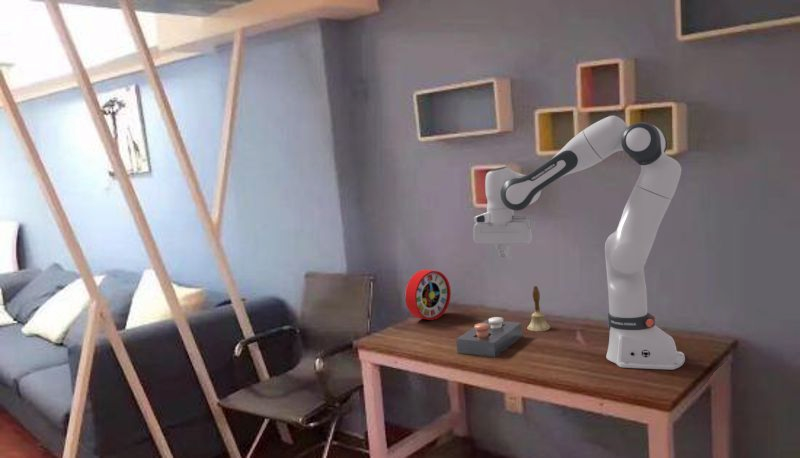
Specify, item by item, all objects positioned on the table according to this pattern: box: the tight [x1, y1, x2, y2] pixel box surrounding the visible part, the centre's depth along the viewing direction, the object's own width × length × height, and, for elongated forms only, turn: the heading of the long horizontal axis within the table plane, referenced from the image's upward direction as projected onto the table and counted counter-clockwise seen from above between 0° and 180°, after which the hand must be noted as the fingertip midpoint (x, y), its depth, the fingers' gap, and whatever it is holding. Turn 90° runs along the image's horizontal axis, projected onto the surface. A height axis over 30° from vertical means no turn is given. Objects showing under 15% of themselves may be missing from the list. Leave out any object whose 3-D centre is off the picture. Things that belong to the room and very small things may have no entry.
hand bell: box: [527, 285, 551, 333], centre depth 236 cm, size 8×8×16 cm
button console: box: [455, 319, 523, 358], centre depth 224 cm, size 14×23×5 cm, turn 147°
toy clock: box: [404, 269, 452, 321], centre depth 263 cm, size 20×6×20 cm, turn 131°
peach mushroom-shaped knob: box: [473, 322, 490, 338], centre depth 219 cm, size 5×5×6 cm
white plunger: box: [487, 316, 504, 329], centre depth 228 cm, size 5×5×6 cm
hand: (503, 256), depth 217 cm, fingers closed
